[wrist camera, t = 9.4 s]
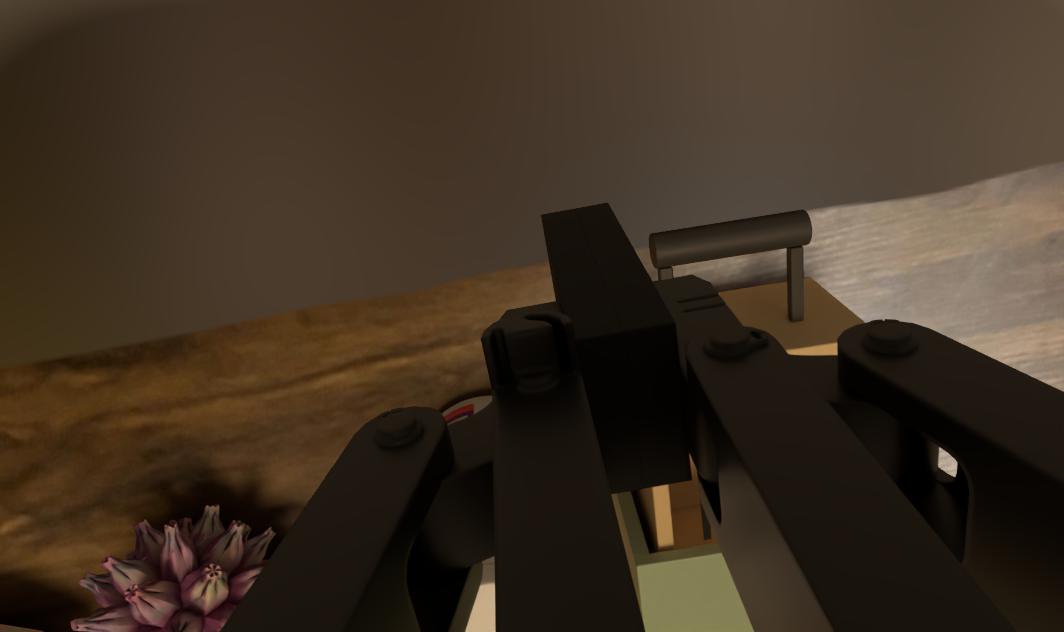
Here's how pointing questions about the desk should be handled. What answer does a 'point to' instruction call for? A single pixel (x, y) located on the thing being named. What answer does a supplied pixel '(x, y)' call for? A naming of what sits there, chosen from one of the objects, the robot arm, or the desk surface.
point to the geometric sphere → (16, 629)
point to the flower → (177, 577)
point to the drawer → (780, 309)
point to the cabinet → (679, 581)
